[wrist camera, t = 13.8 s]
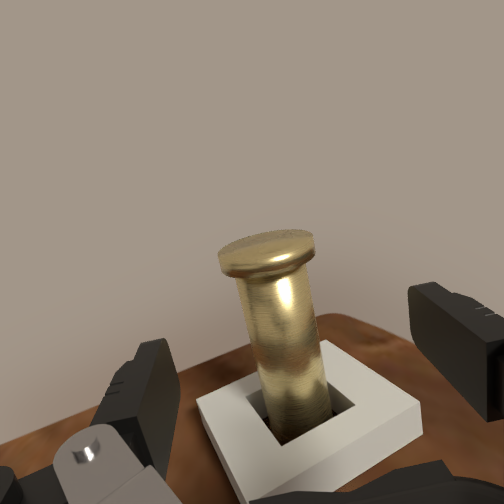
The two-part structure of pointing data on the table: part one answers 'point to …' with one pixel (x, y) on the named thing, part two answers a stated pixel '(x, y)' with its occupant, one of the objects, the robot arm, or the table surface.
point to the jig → (314, 441)
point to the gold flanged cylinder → (281, 327)
